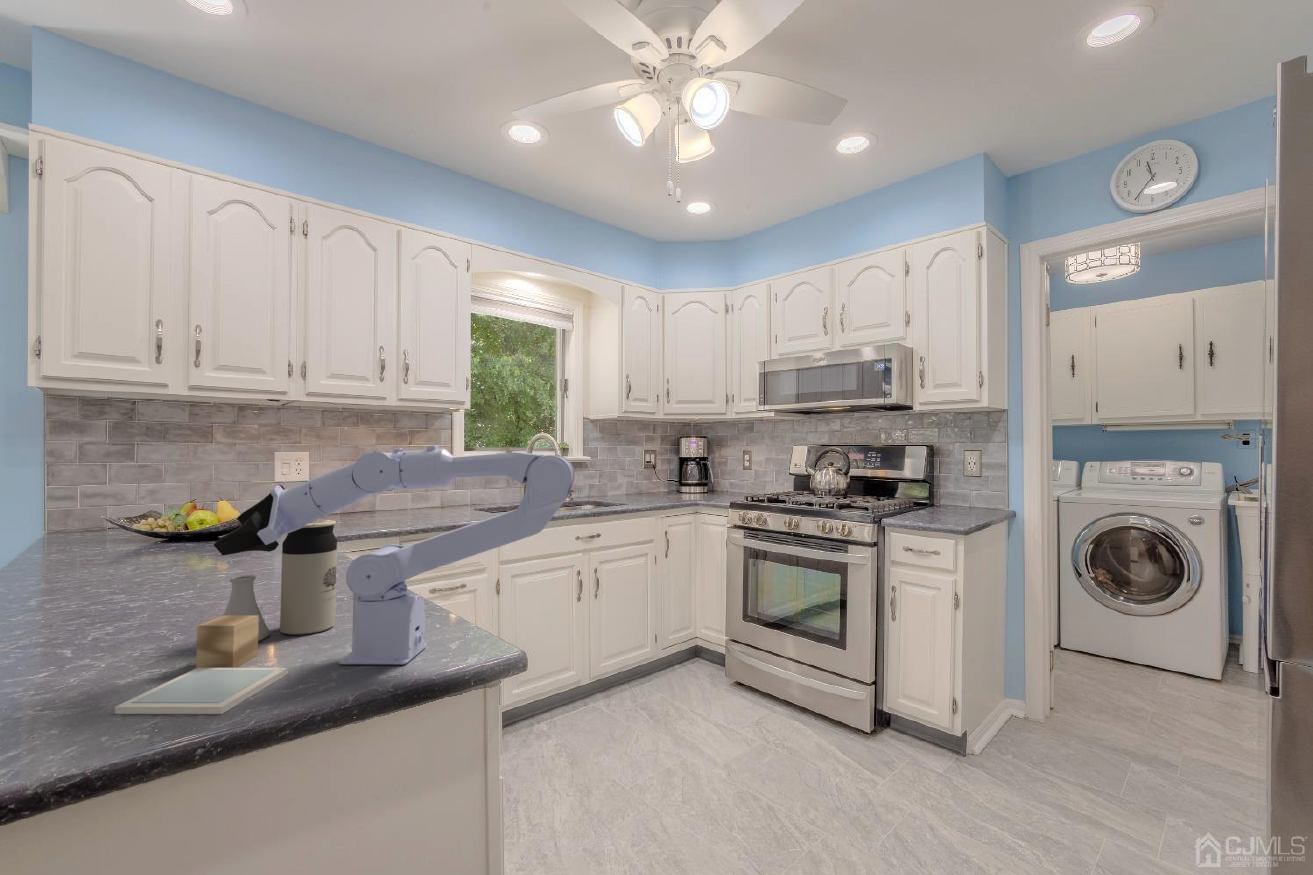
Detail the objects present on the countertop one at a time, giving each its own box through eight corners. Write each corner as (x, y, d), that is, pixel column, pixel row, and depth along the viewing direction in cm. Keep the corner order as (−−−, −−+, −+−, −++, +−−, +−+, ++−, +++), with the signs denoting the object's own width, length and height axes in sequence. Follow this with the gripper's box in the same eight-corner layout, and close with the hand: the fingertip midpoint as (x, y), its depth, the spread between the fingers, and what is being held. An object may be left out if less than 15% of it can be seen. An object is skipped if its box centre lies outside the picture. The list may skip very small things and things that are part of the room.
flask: (239, 649, 87) (241, 583, 87) (200, 646, 88) (202, 580, 88) (279, 635, 94) (281, 573, 94) (242, 632, 95) (244, 571, 96)
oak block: (257, 656, 84) (258, 615, 84) (232, 669, 79) (234, 625, 79) (222, 656, 84) (224, 615, 84) (195, 669, 79) (197, 625, 79)
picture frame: (287, 673, 77) (287, 666, 77) (221, 713, 65) (222, 705, 65) (197, 673, 77) (197, 666, 77) (114, 713, 65) (115, 705, 65)
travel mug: (267, 634, 94) (271, 523, 95) (307, 620, 102) (309, 518, 102) (308, 637, 92) (311, 525, 93) (345, 623, 100) (348, 520, 101)
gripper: (320, 455, 89) (234, 491, 88) (289, 496, 76) (187, 539, 75) (345, 492, 92) (262, 527, 91) (319, 537, 79) (222, 579, 78)
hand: (230, 535), depth 83 cm, fingers open, 7 cm apart
